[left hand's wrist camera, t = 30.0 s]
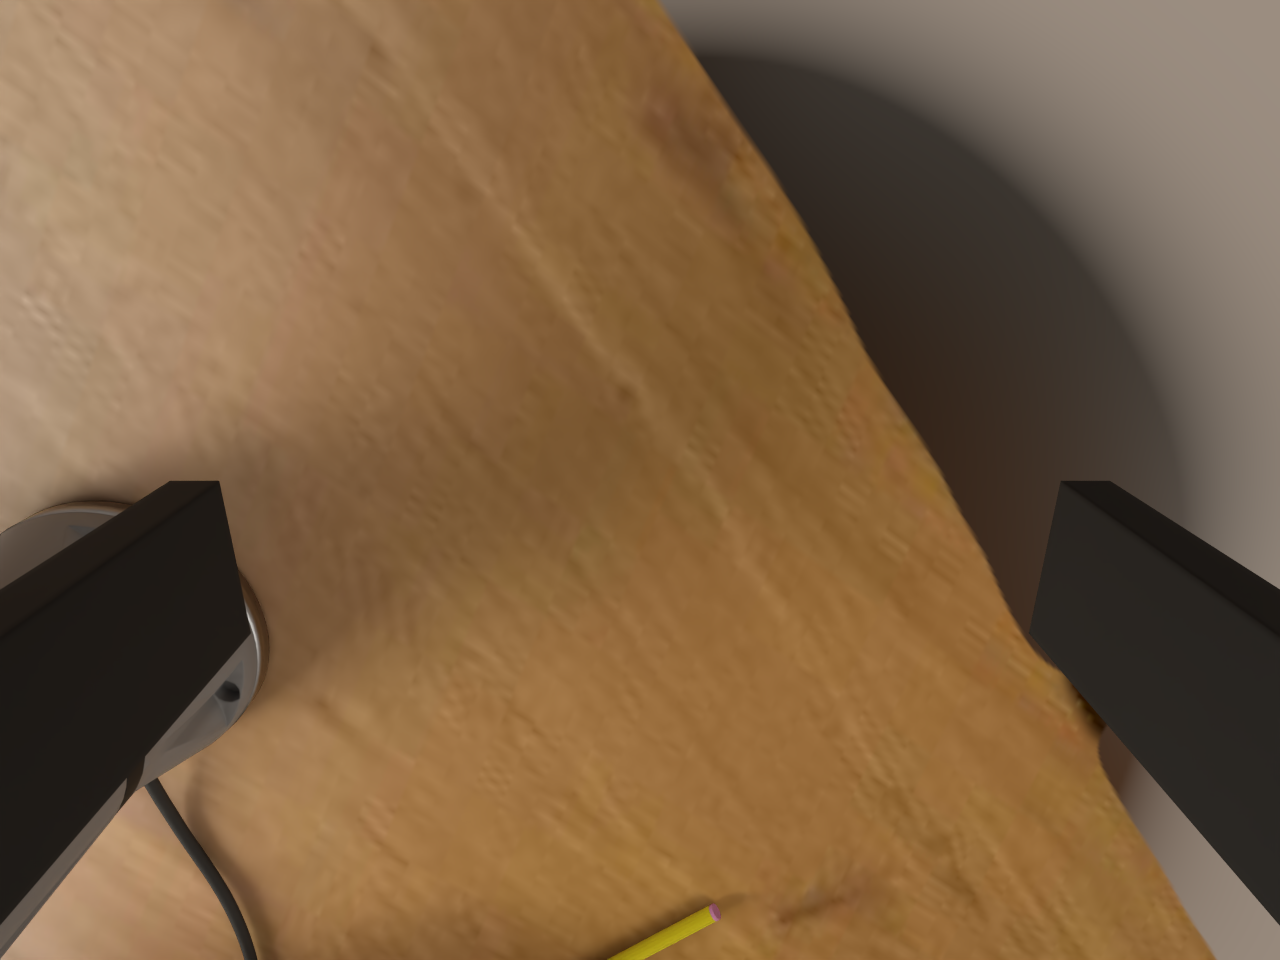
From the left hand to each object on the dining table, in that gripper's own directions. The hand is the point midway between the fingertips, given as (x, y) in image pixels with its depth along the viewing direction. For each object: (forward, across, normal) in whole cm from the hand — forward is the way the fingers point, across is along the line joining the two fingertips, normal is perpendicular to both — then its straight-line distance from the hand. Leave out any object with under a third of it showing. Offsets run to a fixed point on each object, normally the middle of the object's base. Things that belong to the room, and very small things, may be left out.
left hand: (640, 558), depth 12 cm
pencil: (+26, +2, +43) cm, 50 cm away
